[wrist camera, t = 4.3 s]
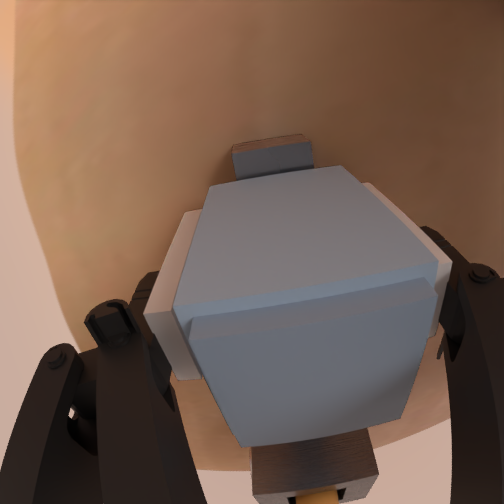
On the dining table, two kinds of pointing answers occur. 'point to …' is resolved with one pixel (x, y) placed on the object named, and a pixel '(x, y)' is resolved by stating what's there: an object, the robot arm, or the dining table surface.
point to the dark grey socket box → (314, 468)
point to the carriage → (305, 305)
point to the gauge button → (319, 498)
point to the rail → (272, 156)
